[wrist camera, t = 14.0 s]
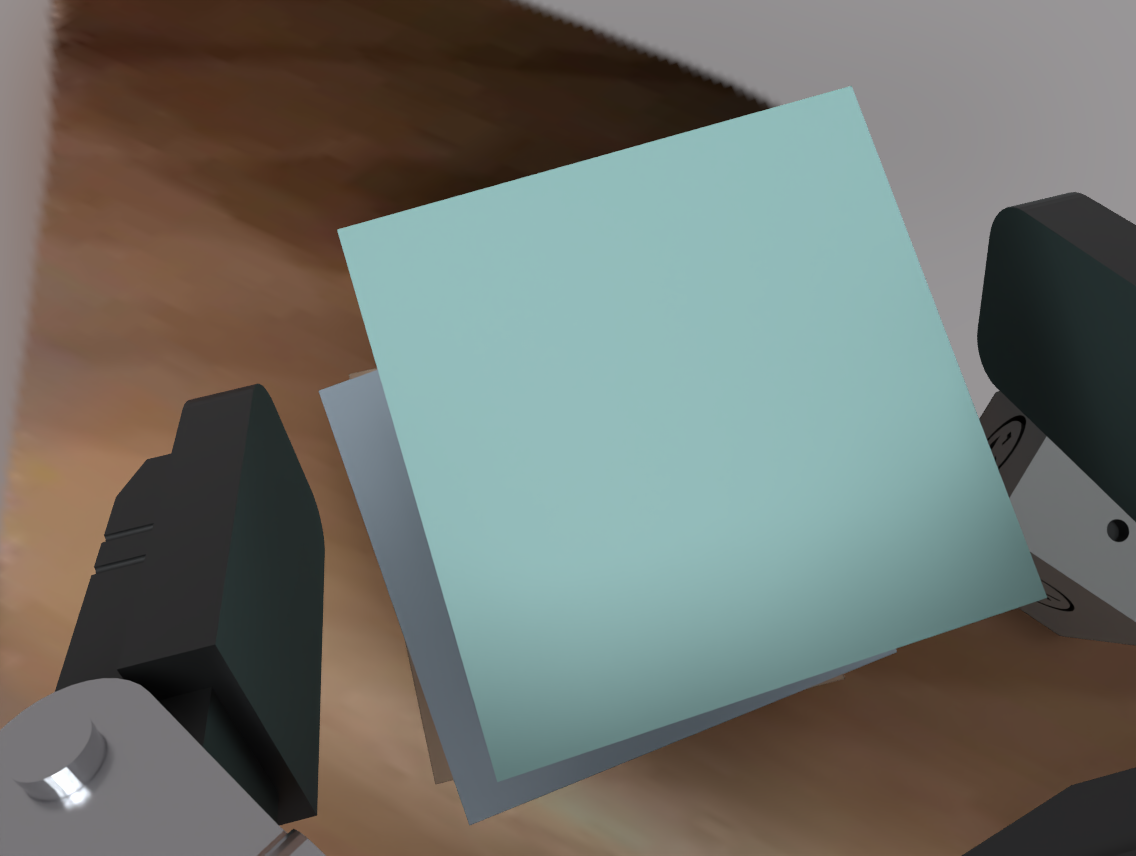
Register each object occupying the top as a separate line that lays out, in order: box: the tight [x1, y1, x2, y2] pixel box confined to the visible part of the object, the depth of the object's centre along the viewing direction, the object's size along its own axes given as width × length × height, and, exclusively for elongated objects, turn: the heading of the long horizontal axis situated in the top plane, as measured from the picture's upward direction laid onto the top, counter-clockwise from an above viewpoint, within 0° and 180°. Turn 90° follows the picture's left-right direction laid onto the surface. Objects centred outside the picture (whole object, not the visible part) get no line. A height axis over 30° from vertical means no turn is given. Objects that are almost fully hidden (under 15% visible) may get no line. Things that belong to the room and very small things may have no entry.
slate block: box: [319, 370, 897, 825], centre depth 21 cm, size 9×9×4 cm
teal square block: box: [337, 86, 1047, 782], centre depth 14 cm, size 6×6×9 cm
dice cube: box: [979, 391, 1136, 645], centre depth 24 cm, size 5×5×5 cm
